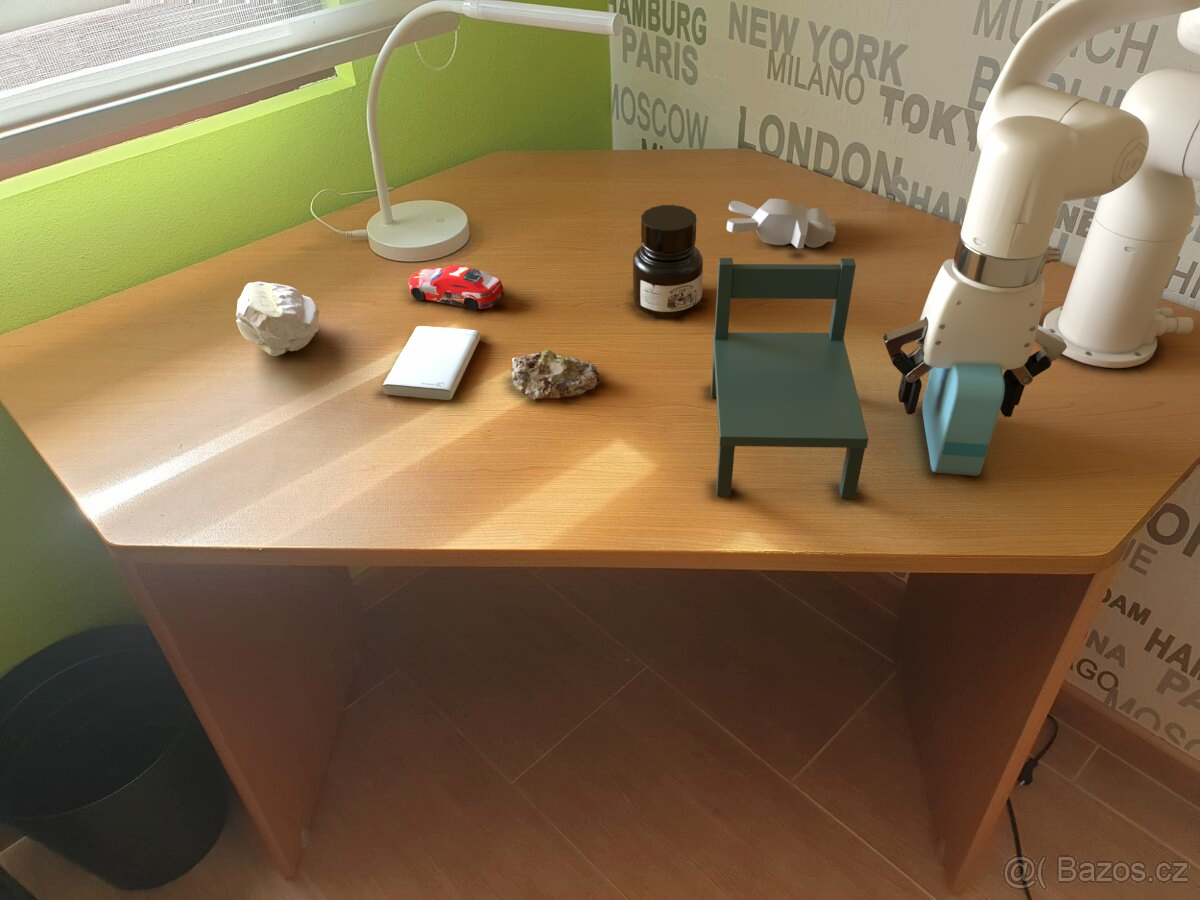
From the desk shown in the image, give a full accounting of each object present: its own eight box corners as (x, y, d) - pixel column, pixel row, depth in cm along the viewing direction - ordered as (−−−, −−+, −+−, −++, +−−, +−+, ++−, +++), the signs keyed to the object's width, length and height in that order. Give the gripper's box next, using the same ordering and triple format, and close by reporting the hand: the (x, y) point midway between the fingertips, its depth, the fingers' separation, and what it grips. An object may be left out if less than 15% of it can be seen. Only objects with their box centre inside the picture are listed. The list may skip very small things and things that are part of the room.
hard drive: (450, 389, 109) (479, 329, 118) (381, 383, 110) (415, 324, 119) (451, 401, 110) (480, 340, 119) (384, 395, 111) (417, 335, 120)
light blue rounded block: (978, 482, 97) (1007, 388, 89) (932, 479, 98) (957, 385, 90) (962, 410, 106) (988, 318, 98) (920, 407, 107) (942, 316, 99)
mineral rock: (499, 385, 108) (515, 331, 112) (504, 408, 111) (519, 355, 116) (593, 396, 106) (605, 341, 111) (595, 419, 110) (606, 365, 114)
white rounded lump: (297, 309, 126) (230, 346, 121) (274, 253, 121) (203, 290, 116) (346, 338, 119) (278, 378, 114) (324, 280, 113) (251, 320, 109)
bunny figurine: (839, 231, 129) (729, 214, 130) (829, 264, 133) (723, 247, 134) (836, 199, 137) (732, 184, 137) (827, 231, 140) (726, 216, 141)
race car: (402, 298, 127) (397, 272, 125) (422, 278, 131) (418, 252, 128) (490, 316, 123) (487, 289, 121) (509, 294, 127) (506, 268, 124)
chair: (832, 391, 109) (854, 257, 98) (856, 499, 96) (884, 359, 84) (710, 389, 110) (717, 257, 99) (715, 497, 96) (725, 357, 85)
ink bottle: (642, 325, 121) (642, 240, 113) (621, 291, 127) (620, 207, 119) (714, 312, 122) (719, 227, 115) (690, 278, 129) (693, 195, 121)
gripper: (1081, 240, 90) (1030, 388, 101) (894, 237, 90) (864, 384, 101) (1109, 281, 84) (1052, 432, 95) (910, 277, 85) (876, 428, 96)
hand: (955, 407), depth 98 cm, fingers open, 9 cm apart
